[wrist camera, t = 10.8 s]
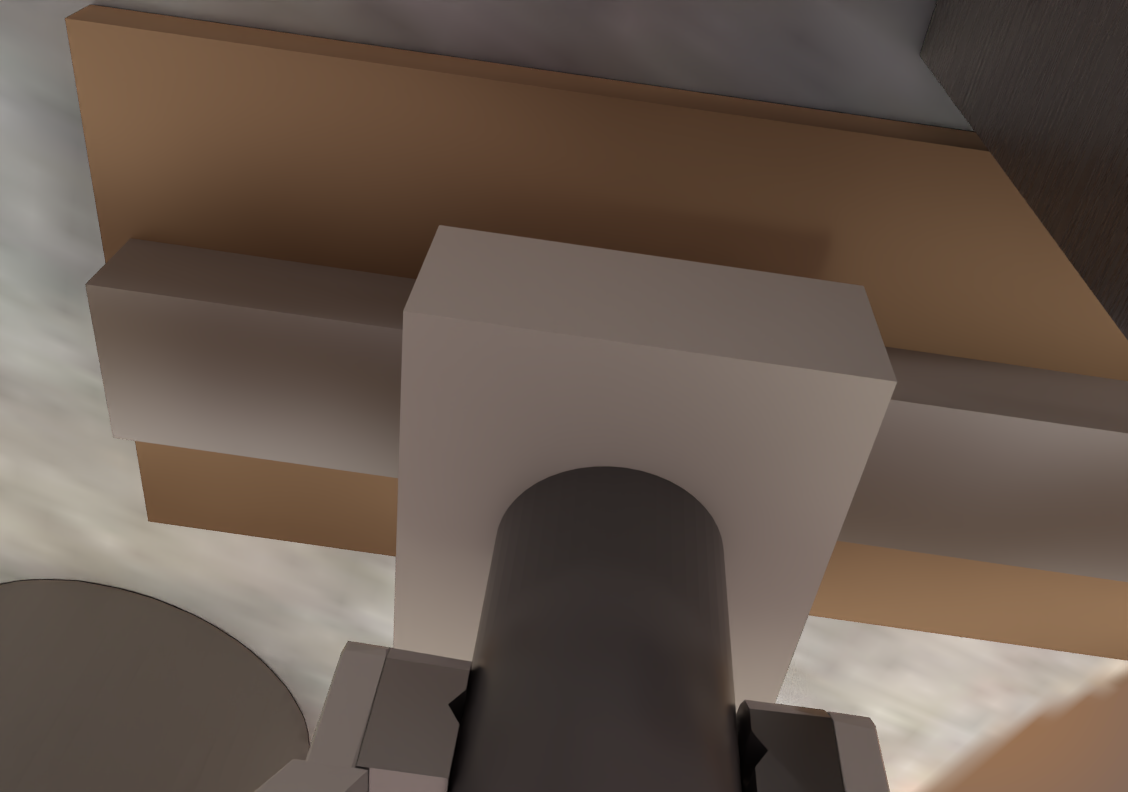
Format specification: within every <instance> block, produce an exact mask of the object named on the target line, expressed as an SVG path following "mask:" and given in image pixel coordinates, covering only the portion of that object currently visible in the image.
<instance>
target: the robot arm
mask: <svg viewBox="0 0 1128 792" xmlns="http://www.w3.org/2000/svg"><path fill="white" fill-rule="evenodd" d="M471 671H472V662H471V661H466V660H460V659H454V658H448V657H442V656H437V655H431V654H425V653H419V652H414V651H408V650H402V649H396V648H390V647H383V646H377V645H371V644H364V643H358V642H351V641H348V642H347V644H346V646H345V647H344V649H343V651H342V652H341V655H340V658H339V661H338V664H337V667H336V670H335V673H334V676H333V679H332V682H331V685H330V688H329V691H328V694H327V697H326V700H325V703H324V706H323V709H322V712H321V715H320V718H319V721H318V724H317V727H316V730H315V733H314V736H313V739H312V742H311V745H310V748H309V751H308V754H307V757H306V760H298V759H292V760H291V761H290V762H289V763H287V764H286V765H285V766H284V767H283V768H282V769H280V770H279V771H278V772H277V773H276V774H274V775H273V776H272V777H271V778H270V779H268V780H267V781H266V782H265V783H264V784H263V785H261V786H260V787H259V788H258V789H257V790H255V791H254V792H449V787H450V782H451V777H452V772H453V766H454V761H455V756H456V751H457V743H458V733H459V725H460V723H461V720H462V717H463V714H464V709H465V704H466V699H467V693H468V687H469V682H470V676H471ZM736 719H737V732H738V745H739V759H740V772H741V785H742V792H890V790H889V785H888V780H887V776H886V771H885V767H884V762H883V758H882V753H881V749H880V744H879V740H878V735H877V730H876V726H875V725H874V723H873V722H872V720H871V719H870V718H869V717H863V716H856V715H849V714H842V713H835V712H826V711H825V710H821V709H813V708H806V707H798V706H790V705H783V704H775V703H767V702H760V701H752V700H744V701H743V702H742V703H741V704H740V706H739V708H738V711H737V713H736Z"/></svg>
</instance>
